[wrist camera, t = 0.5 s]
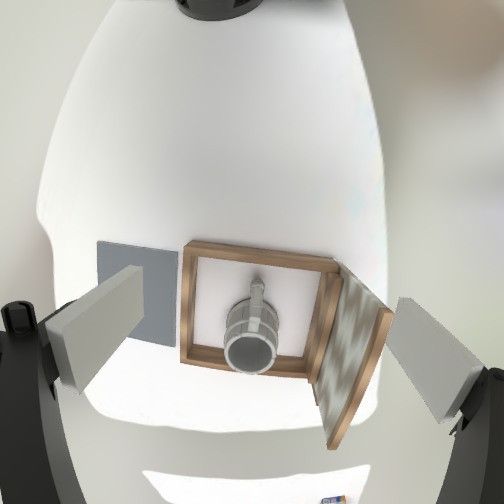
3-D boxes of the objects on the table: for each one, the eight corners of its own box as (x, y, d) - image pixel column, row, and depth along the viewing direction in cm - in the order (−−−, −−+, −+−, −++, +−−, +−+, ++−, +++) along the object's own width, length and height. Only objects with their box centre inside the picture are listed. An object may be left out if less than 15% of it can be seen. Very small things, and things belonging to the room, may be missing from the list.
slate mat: (98, 241, 40) (96, 241, 39) (178, 252, 40) (177, 253, 39) (103, 328, 43) (102, 330, 42) (175, 345, 43) (174, 347, 42)
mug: (226, 338, 42) (214, 385, 31) (232, 267, 40) (219, 298, 28) (274, 343, 42) (277, 392, 30) (285, 272, 40) (294, 306, 28)
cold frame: (192, 240, 39) (135, 282, 20) (338, 258, 39) (394, 313, 20) (186, 351, 43) (150, 434, 25) (312, 366, 43) (333, 453, 24)
